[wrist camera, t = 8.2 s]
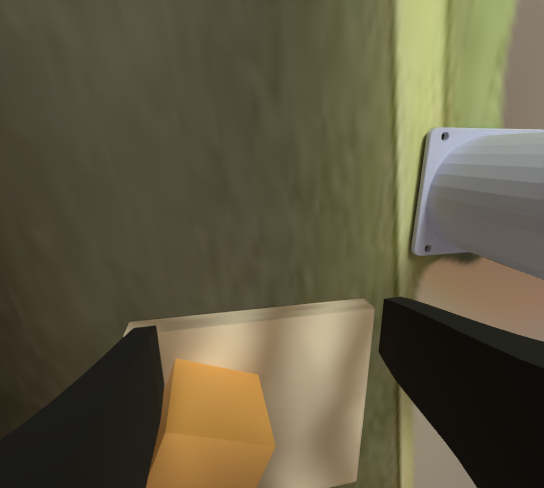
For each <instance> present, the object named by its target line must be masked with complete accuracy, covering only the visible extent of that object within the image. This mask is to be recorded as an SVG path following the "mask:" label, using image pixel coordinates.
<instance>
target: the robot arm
mask: <svg viewBox="0 0 544 488" xmlns="http://www.w3.org/2000/svg"><path fill="white" fill-rule="evenodd" d="M442 134H444V139H443V140H442V139H441V136H442ZM426 246H427V249H426V250H425V247H426ZM411 251H412V253H413V254H415V255H417V256H426V255H440V254H453V253H466V252H471V253H473V254H476V255H479V256H481V257H484V258H487V259H490V260H492V261H495V262H497V263H500V264H503V265H505V266H508V267H511V268H513V269H516V270H519V271H521V272H524V273H527V274H529V275H532V276H535V277H537V278H541V279H543V280H544V130H539V129H537V130H536V129H535V130H534V129H488V128H432V129H431V130H429V132H428V133H427V137H426V144H425V151H424V159H423V166H422V173H421V181H420V188H419V195H418V202H417V210H416V217H415V224H414V232H413V239H412V246H411ZM379 353H380V355H381V357H382V359H383V360H384V362H385V364H386V366H387V367H388V369H389V370H390V372H391V374H392V375H393V377H394V378H395V380H396V381H397V382H398V384H399V385H400V386H401V387H402V389H403V390H404V391H405V393H406V394H407V395H408V396H409V398H410V399H411V400H412V401H413V403H414V404H415V405H416V406H417V408H418V409H419V410H420V411H421V413H422V414H423V415H424V416H425V418H426V419H427V420H428V421H429V422H430V424H431V425H432V426H433V427H434V429H435V430H436V431H437V432H438V434H439V435H440V436H441V437H442V439H443V440H444V441H445V442H446V444H447V445H448V446H449V448H450V449H451V450H452V451H453V453H454V454H455V456H456V457H457V458H458V460H459V461H460V462H461V464H462V466H463V467H464V469H465V470H466V472H467V473H468V475H469V476H470V478H471V479H472V480H473V482H474V484H475V485H476V487H477V488H544V342H543V341H539V340H535V339H531V338H528V337H524V336H521V335H517V334H514V333H511V332H508V331H505V330H501V329H498V328H495V327H492V326H489V325H486V324H483V323H479V322H477V321H474V320H471V319H468V318H465V317H462V316H459V315H456V314H453V313H451V312H448V311H445V310H442V309H439V308H436V307H433V306H430V305H428V304H425V303H421V302H418V301H415V300H412V299H408V298H403V297H396V298H387V299H384V304H383V314H382V324H381V333H380V343H379ZM163 394H164V377H163V370H162V363H161V356H160V349H159V341H158V334H157V327H156V325H154V326H145V327H136V328H133V329H132V330H131V331H130V332H128V333H127V334H126V335H125V336H124V337H123V338H122V339H121V340H120V341H119V342H118V343H117V344H116V345H115V346H114V347H113V348H112V349H111V350H110V351H108V352H107V353H106V354H105V355H104V356H103V357H102V358H101V359H100V360H99V361H98V362H97V363H96V364H94V365H93V366H92V367H91V368H90V369H89V370H88V371H87V372H86V373H85V374H83V375H82V376H81V377H80V378H79V379H78V380H76V381H75V382H74V383H73V384H72V385H71V386H69V387H68V388H67V389H66V390H65V391H63V392H62V393H61V394H60V395H59V396H58V397H56V398H55V399H54V400H53V401H52V402H50V403H49V404H48V405H47V406H45V407H44V408H43V409H42V410H40V411H39V412H38V413H37V414H35V415H34V416H33V417H31V418H30V419H29V420H27V421H26V422H25V423H23V424H22V425H21V426H19V427H18V428H16V429H15V430H14V431H12V432H11V433H10V434H8V435H7V436H6V437H4V438H3V439H1V440H0V488H146V485H147V480H148V476H149V471H150V467H151V462H152V458H153V453H154V449H155V444H156V440H157V435H158V430H159V426H160V421H161V414H162V405H163Z"/></svg>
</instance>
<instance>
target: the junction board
mask: <svg viewBox="0 0 544 488" xmlns="http://www.w3.org/2000/svg"><path fill="white" fill-rule="evenodd" d="M374 312H375V308H374V307H373V306H371V305H370V304H369V303H368V302H367V301H366V300H365V299H364V298H361V299H351V300H341V301H331V302H321V303H312V304H302V305H292V306H282V307H272V308H262V309H253V310H243V311H233V312H223V313H213V314H203V315H194V316H184V317H174V318H164V319H154V320H144V321H135V322H129V324H128V327H127V329H126V331H125V333H124V336H125V335H126V334H127V333H128V332H130V331H131V330H132V329H133V328H136V327H145V326H154V325H156V327H157V334H158V341H159V349H160V356H161V363H162V370H163V377H164V388H165V385H166V383H167V380H168V377H169V374H170V372H171V369H172V366H173V364H174V361H175V358H177V359H182V360H187V361H192V362H197V363H202V364H207V365H212V366H217V367H222V368H227V369H232V370H237V371H242V372H247V373H252V374H257V375H259V380H260V384H261V388H262V392H263V396H264V400H265V404H266V408H267V412H268V416H269V420H270V424H271V429H272V433H273V437H274V441H275V445H276V447H275V449H274V451H273V453H272V455H271V458H270V460H269V462H268V464H267V466H266V468H265V470H264V472H263V474H262V477H261V479H260V481H259V483H258V485H257V487H256V488H329V487H334V486H338V485H343V484H347V483H351V482H356V479H357V470H358V461H359V451H360V442H361V433H362V424H363V414H364V405H365V396H366V386H367V377H368V368H369V359H370V349H371V340H372V331H373V321H374ZM124 336H123V337H124Z"/></svg>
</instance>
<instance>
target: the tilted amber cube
mask: <svg viewBox="0 0 544 488" xmlns="http://www.w3.org/2000/svg"><path fill="white" fill-rule="evenodd" d="M275 447H276V445H275V441H274V437H273V433H272V429H271V424H270V420H269V416H268V412H267V408H266V404H265V400H264V396H263V392H262V388H261V384H260V380H259V375H257V374H252V373H247V372H242V371H237V370H232V369H227V368H222V367H217V366H212V365H207V364H202V363H197V362H192V361H187V360H182V359H177V358H175V361H174V364H173V366H172V369H171V372H170V374H169V377H168V380H167V383H166V385H165V388H164V394H163V405H162V414H161V421H160V426H159V430H158V435H157V440H156V444H155V449H154V453H153V458H152V462H151V467H150V471H149V476H148V480H147V485H146V488H256V487H257V485H258V483H259V481H260V479H261V477H262V474H263V472H264V470H265V468H266V466H267V464H268V462H269V460H270V458H271V455H272V453H273V451H274V449H275Z"/></svg>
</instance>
